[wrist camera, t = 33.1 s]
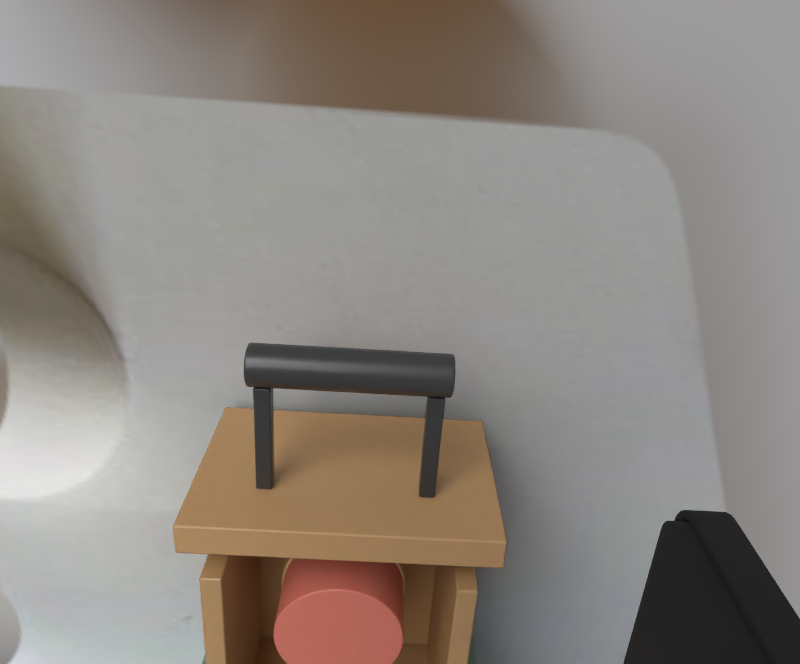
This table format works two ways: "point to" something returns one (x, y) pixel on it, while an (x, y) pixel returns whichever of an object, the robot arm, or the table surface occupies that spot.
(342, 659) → the red cylinder
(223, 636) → the drawer
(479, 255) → the table surface
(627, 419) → the table surface
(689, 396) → the table surface
